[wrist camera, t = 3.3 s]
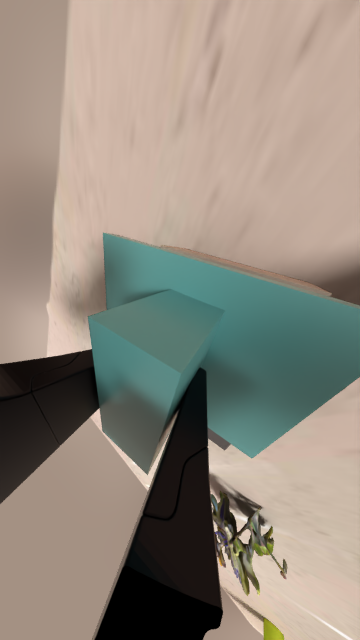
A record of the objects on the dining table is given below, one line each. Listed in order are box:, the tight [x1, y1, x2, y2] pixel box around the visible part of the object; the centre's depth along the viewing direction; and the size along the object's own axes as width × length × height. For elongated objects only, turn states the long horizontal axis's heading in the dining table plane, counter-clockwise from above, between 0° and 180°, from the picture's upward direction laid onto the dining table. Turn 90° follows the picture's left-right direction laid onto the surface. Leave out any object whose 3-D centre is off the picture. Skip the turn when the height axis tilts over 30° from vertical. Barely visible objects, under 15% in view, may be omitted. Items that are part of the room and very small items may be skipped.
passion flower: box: [211, 491, 287, 596], centre depth 27 cm, size 11×11×12 cm
